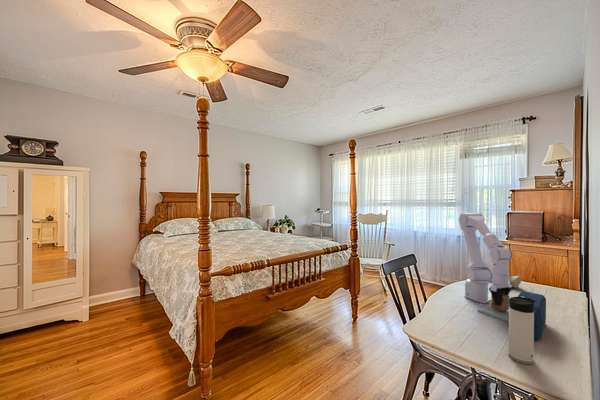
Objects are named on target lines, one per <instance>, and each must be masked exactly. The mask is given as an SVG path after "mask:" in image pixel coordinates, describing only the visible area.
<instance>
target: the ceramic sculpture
mask: <svg viewBox="0 0 600 400" xmlns="http://www.w3.org/2000/svg"><path fill="white" fill-rule="evenodd" d="M522 277H523V276H522V275H512V274H511V272H509V281H510V285H512V288H514V289H518V287H519V286H520V284H521V283H522ZM492 282H493V279H492V281H490V283H489V284H492Z"/></svg>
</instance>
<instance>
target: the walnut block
mask: <svg viewBox="0 0 600 400" xmlns="http://www.w3.org/2000/svg"><path fill="white" fill-rule="evenodd" d="M490 299H491V301H490V303H491V308H494V309H497V310H500V311H503V312H505V311H507V310H508V309H509V299H510V295H505V294H504V295H503V298H502V303H501V306H498V305H495V303H494V300H493V296H492V294H491V297H490Z"/></svg>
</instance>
